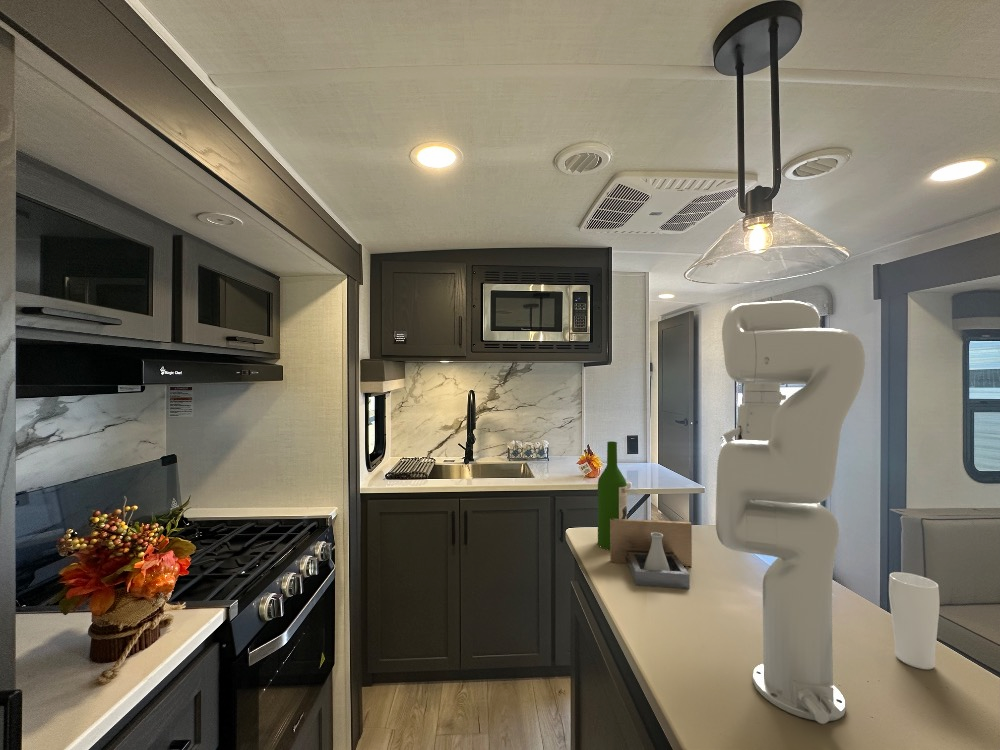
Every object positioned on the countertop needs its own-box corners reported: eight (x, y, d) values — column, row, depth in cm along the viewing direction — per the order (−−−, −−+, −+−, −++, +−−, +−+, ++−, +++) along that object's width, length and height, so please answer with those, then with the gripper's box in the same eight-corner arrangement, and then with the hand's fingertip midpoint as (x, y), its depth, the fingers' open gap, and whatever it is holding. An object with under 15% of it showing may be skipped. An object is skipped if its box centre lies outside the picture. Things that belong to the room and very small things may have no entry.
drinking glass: (880, 650, 84) (879, 571, 84) (916, 651, 84) (915, 572, 84) (912, 673, 77) (911, 587, 78) (951, 674, 77) (950, 588, 77)
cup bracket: (708, 589, 109) (708, 541, 109) (617, 584, 111) (617, 536, 112) (690, 564, 124) (690, 522, 124) (610, 560, 127) (610, 518, 127)
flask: (676, 578, 113) (675, 539, 113) (647, 578, 113) (647, 538, 113) (665, 566, 120) (665, 529, 120) (639, 566, 120) (639, 529, 120)
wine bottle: (621, 552, 132) (621, 444, 133) (593, 546, 137) (593, 442, 138) (630, 544, 140) (630, 441, 140) (603, 538, 145) (603, 439, 145)
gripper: (791, 398, 109) (792, 467, 109) (718, 398, 111) (718, 465, 111) (809, 399, 102) (809, 473, 101) (729, 399, 104) (730, 471, 104)
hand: (762, 469), depth 106 cm, fingers open, 9 cm apart
